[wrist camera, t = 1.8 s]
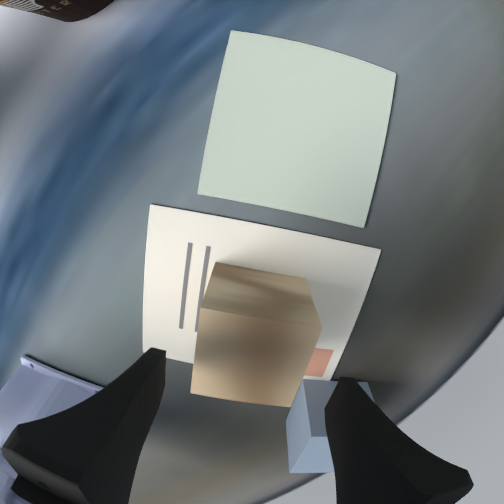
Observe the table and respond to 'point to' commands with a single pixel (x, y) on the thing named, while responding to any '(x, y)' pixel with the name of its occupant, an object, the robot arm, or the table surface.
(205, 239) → the letter
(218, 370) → the block
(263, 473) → the table surface
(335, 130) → the mat
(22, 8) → the coffee mug
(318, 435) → the cube
